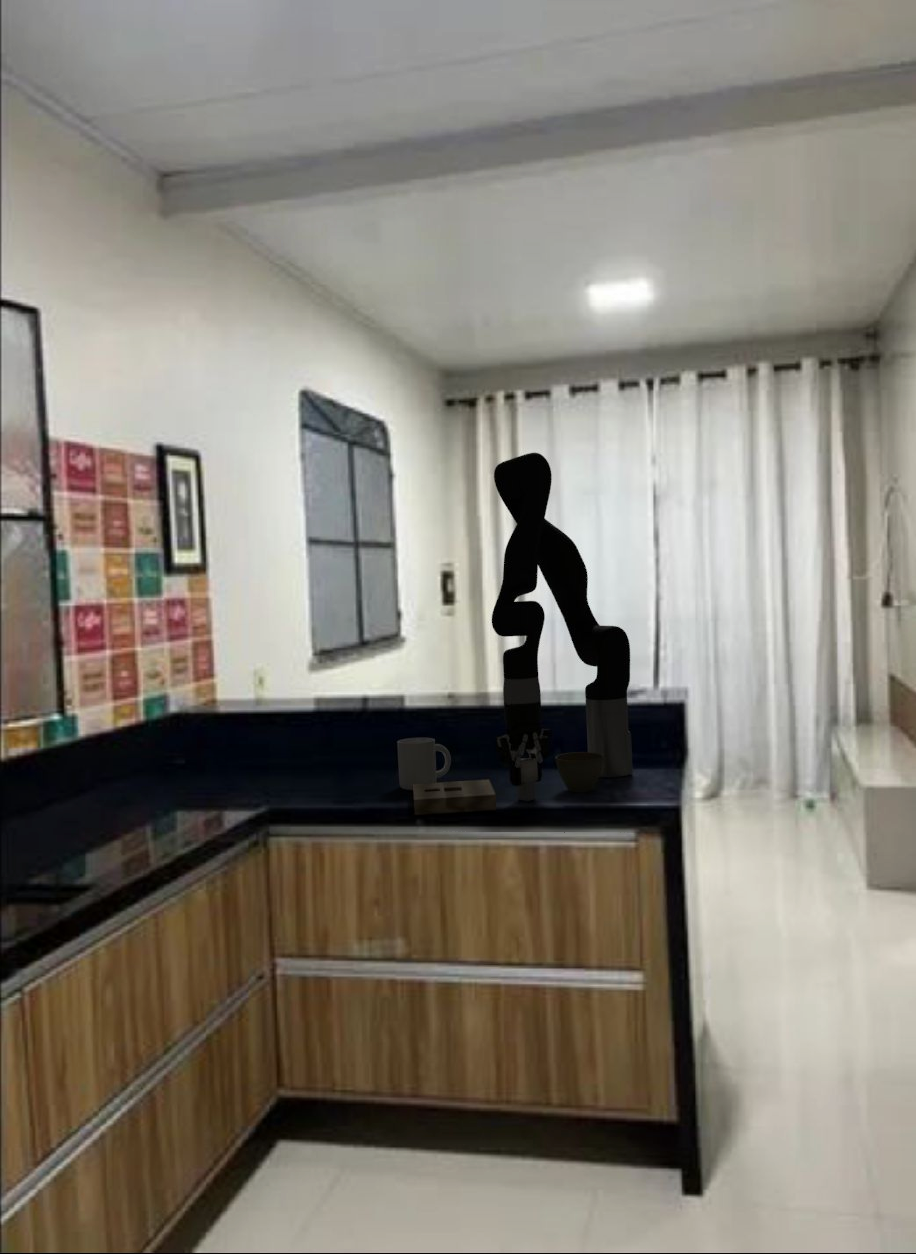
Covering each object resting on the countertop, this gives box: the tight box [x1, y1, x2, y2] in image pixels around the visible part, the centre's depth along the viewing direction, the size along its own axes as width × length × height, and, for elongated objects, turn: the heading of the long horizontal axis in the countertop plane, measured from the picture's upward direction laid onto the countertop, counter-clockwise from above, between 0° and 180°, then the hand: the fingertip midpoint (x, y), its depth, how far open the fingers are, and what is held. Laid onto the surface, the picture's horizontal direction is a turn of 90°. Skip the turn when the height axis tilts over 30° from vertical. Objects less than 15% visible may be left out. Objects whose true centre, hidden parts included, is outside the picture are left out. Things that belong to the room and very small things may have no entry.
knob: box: [517, 757, 538, 802], centre depth 223 cm, size 5×5×8 cm
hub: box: [412, 779, 497, 816], centre depth 222 cm, size 16×16×3 cm
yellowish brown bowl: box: [554, 751, 603, 793], centre depth 229 cm, size 10×10×7 cm
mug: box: [396, 737, 452, 791], centre depth 242 cm, size 12×8×10 cm
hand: (526, 782), depth 223 cm, fingers closed on knob, 4 cm apart
